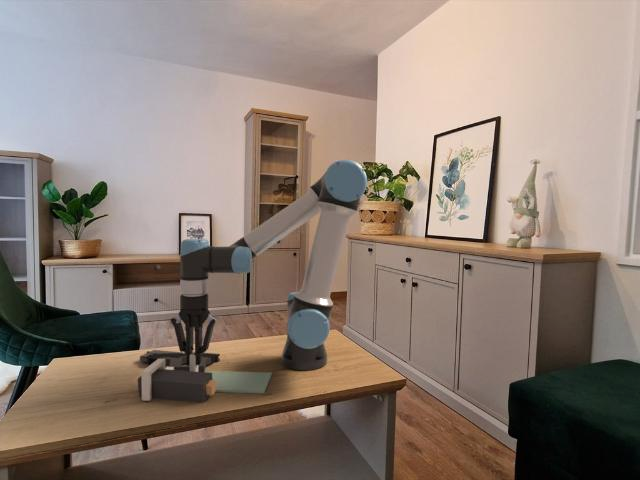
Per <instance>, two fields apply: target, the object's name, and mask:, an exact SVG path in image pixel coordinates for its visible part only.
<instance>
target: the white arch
mask: <svg viewBox="0 0 640 480" xmlns="http://www.w3.org/2000/svg"><path fill="white" fill-rule="evenodd" d="M157 369H167V370H174V367H169V366H165V359H157V360H156V361H155V362H153V363H152V364H151V365H147V367H146V368H144V369H143V370H142V371H141V372H140V373H141V375H140V376H141V378H142V397H141V401H145V402H146V401H149V402H150V401H151V400H152V399H153V398H151V374H152V373H153V372H154V371H156V370H157Z"/></svg>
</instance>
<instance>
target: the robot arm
mask: <svg viewBox="0 0 640 480" xmlns="http://www.w3.org/2000/svg"><path fill="white" fill-rule="evenodd" d="M367 185H368V177H367V174H366V171H365V169H364V168H363V167H362V165H360V164H359V163H358V162H356V161H354V160H350V159H340V160H337V161H334V162H333V163H331V164H330V165H329V166H328V168H327V169H326V171H325V172H324V174H323V175H322V176H321V177H320V178H319V179H318V180H317V181H316V182H315V183H314V184H312V185H311V186H309V187H308V189H307V192H306V193H305V194H303V195H302V196H300V197H299V198H297V199H296V200H295V201H293V202H291V203H290V204H289V205H288V206H286V207H284V208H283V209H281V210H280V211H278V212H277V213H276V214H273V216H271V217H270V218H269V219H267V220H265V221H264V222H263V223H261V224H260V225H258V226H257V227H256V228H254V229H253V230H251V231H250V232H248V233H247V234H245V235H244V236H243V237H241V238H240V239H238V240H236V241H235V242H233V243H232V244H231V245H228V246H212V245H211V246H210V244H209V242H210V241H209V240H208V239H205V238H186V239H183V240H182V241H181V242H180V254H179V258H180V259H179V262H180V263H179V264H180V266H179V269H180V270H179V272H180V281H179V293H180V294H181V295H180V297H179V298H180V299H179V307H180V310H179V312H178V314H177V315H176V316H173V317H171V318H170V323H171V324H172V326H173V328H174V332H175V336H176V337H175V338H176V340H177V345H178V348H179V349H178V350H179V352H183V353H186V355H187V363H186V366H190V371H194V372H198V365H200V364H201V362H202V353H206V351H207V350H208V349H209V347H210V342H211V340H212V335H213V331H214V328H215V324H216V323H218V320H219V319H218V317H214V316H212V315H211V313H210V310H209V294H208V293H209V274H214V273H215V274H237V275H241V274H249V273H250V272H251V270H252V264H253V263H252V262H253V259H255V258H256V257H257V256H259V255H260V254H263V253H264V252H265V251H266V250H268V249H269V248H271V247H272V246H273V245H275V244H276V243H278V242H279V241H281V240H282V239H284V238H285V237H286V236H289V235H290V234H291V233H292V232H294V231H295V230H297V229H298V228H300V227H301V226H302V225H305V223H307V222H308V221H310V220H311V219H313V218H315V216H317V215H319V214H320V215H319V216H318V222H317V226H316V230H315V234H314V237H313V242H312V246H311V249H310V253H309V258H308V261H307V265H306V270H305V274H304V277H303V281H302V286H301V289H300V290H298V291H295V292H290V293H288V294H287V298H286V299H287V300H286V303H287V304H286V305H287V308H286V309H287V310H286V311H287V313H286V314H287V315H286V318H287V320H286V323H287V324H286V340H285V343H284V347H283V349H282V353H281V364H282V365H283V366H285V367H286V368H289V369H291V370H297V371H311V370H316V369H320V368H323V367H324V366H326V365H327V363H328V352H327V349H326V347H325V341H327V339H328V337H329V334H330V330H331V329H330V328H331V325H330V318H331V314H332V311H333V305H334V302H333V300H332V299H331V294H332V289H333V285H334V282H335V278H336V273H337V270H338V266H339V261H340V257H341V254H342V250H343V247H344V242H345V239H346V235H347V231H348V227H349V223H350V219H351V217H352V216H354V215H356V214H357V213H358V209H359V205H360V201H361V198H362V196H363V195H364V193H365V191H366V190H367ZM206 321H207V326H206V330H205V332H204V333H205V334H204V339H203V327H204V323H206ZM183 324H184V326H185V327H184V328H185V331H184V328H183Z"/></svg>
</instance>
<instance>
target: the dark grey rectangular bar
mask: <svg viewBox="0 0 640 480" xmlns="http://www.w3.org/2000/svg"><path fill="white" fill-rule="evenodd" d="M136 381H137V389H138V395H139V398H142V378H141V375H140V376H139V377H138V378H136ZM216 390H217V387H216V380H213V379H212V373H208V372H194V371H181V370H167V369H157V370H156V371H154V372H153V373H152V374H151V398H152V399H159V400H170V401H184V402H194V403H195V402H196V403H203V404H204V403H206V402H207V400H208V399H209V397H210V396H213V395H214V394H215V393H216V392H215V391H216Z"/></svg>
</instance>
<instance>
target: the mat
mask: <svg viewBox="0 0 640 480" xmlns="http://www.w3.org/2000/svg"><path fill="white" fill-rule="evenodd" d="M205 372H208V373H212V379H213V380H216V387H217V390H216V391H215V393H232V394H233V393H236V394H238V393H239V394H265V392H266V390H267V388H268V386H269V385H268V384H269V383H270V381H271V377H272V375H273V373H272V372H268V371H267V372H261V371H226V370H225V371H223V370H222V371H221V370H205Z"/></svg>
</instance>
